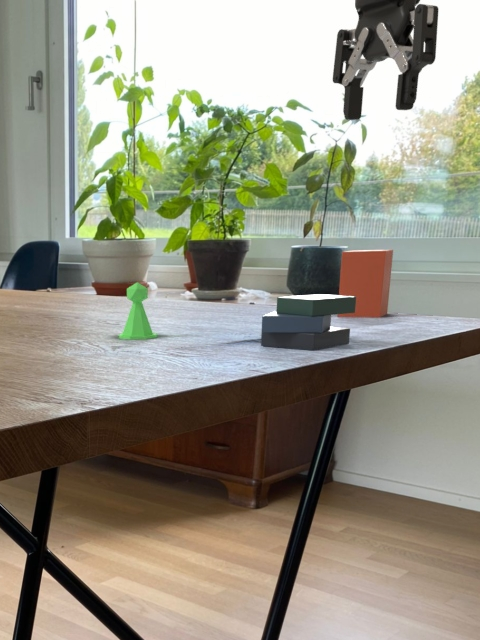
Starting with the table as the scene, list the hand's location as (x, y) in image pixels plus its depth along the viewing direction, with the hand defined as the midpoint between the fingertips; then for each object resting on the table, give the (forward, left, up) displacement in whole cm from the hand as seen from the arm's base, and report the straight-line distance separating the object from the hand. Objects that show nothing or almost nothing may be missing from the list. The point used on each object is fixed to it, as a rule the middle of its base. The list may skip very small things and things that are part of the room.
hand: (377, 114), depth 103 cm
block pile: (+30, +20, -24) cm, 43 cm away
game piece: (+40, +6, -24) cm, 47 cm away
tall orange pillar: (+7, +7, -24) cm, 26 cm away
